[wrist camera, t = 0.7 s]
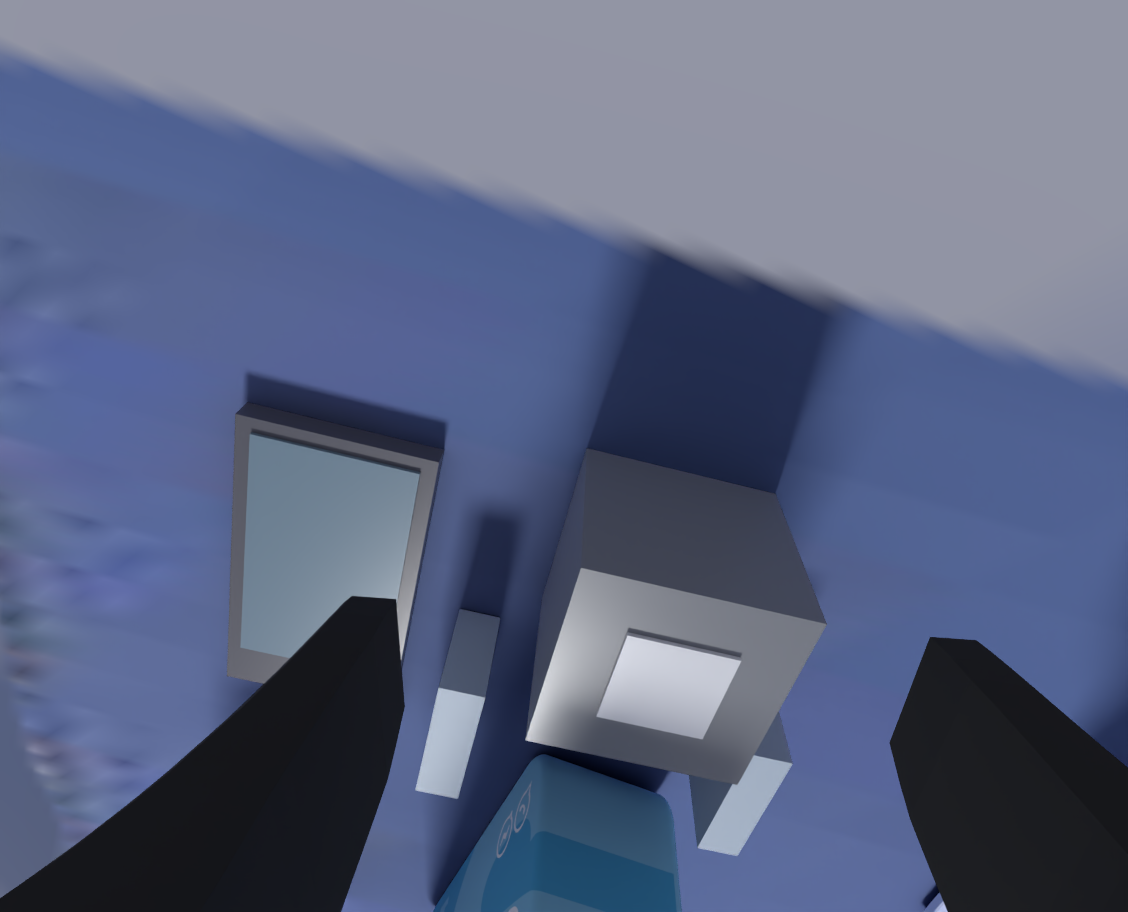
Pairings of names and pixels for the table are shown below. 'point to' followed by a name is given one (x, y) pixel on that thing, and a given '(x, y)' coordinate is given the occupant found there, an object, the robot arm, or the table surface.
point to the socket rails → (459, 702)
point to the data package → (571, 848)
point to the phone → (319, 530)
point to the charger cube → (669, 620)
